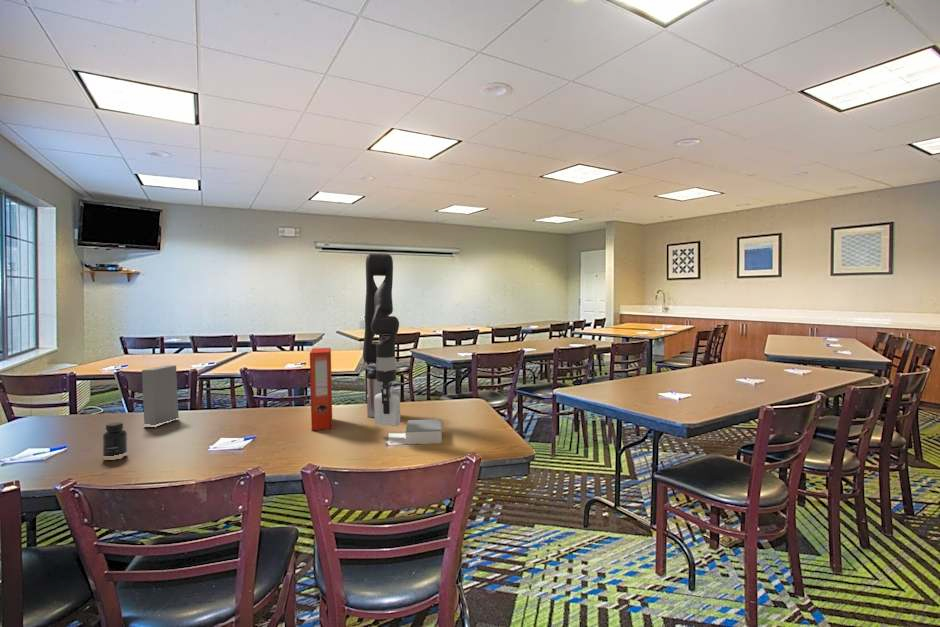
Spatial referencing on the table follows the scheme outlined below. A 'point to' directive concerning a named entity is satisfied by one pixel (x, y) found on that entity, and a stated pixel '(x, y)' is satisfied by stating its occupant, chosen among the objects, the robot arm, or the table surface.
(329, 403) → the file binder
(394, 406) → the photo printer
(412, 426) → the plinth
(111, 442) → the supplement bottle
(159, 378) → the grey upright panel
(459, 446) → the table surface
